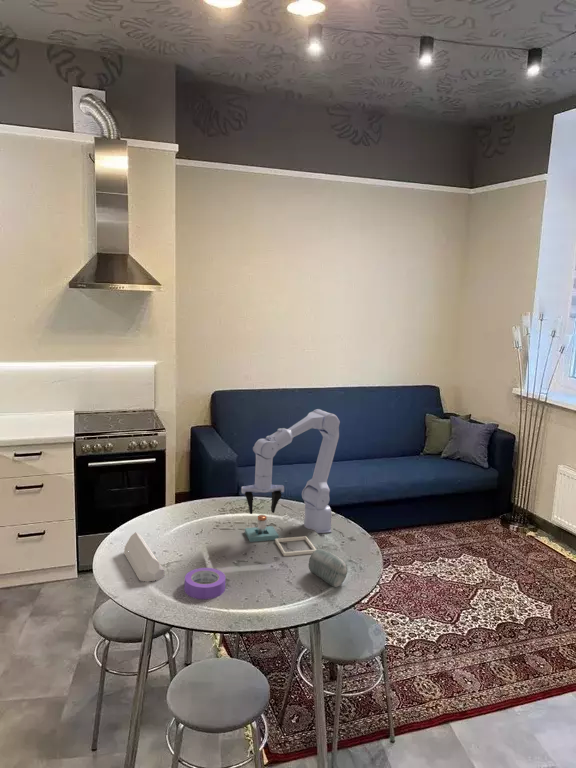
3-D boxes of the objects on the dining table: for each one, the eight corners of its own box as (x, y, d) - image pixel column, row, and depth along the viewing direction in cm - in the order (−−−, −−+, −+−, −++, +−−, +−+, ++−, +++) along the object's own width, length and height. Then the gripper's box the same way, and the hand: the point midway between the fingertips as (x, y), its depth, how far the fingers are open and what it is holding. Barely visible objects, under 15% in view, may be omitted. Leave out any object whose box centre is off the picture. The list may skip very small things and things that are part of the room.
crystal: (116, 541, 188) (135, 574, 168) (135, 528, 191) (156, 559, 170) (128, 558, 191) (148, 592, 170) (147, 544, 194) (168, 577, 173)
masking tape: (230, 582, 173) (230, 570, 173) (217, 602, 162) (217, 589, 162) (193, 576, 176) (193, 565, 175) (177, 596, 165) (178, 583, 164)
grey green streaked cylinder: (297, 562, 180) (315, 536, 179) (317, 569, 186) (335, 544, 185) (319, 593, 169) (338, 565, 168) (340, 598, 175) (359, 572, 174)
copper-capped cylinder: (264, 533, 205) (265, 514, 204) (266, 537, 202) (267, 518, 201) (256, 534, 204) (257, 515, 203) (258, 537, 201) (259, 518, 200)
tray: (306, 542, 202) (306, 536, 202) (316, 557, 192) (317, 550, 191) (274, 545, 199) (275, 538, 199) (283, 560, 189) (284, 553, 188)
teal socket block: (272, 534, 208) (272, 526, 208) (278, 543, 201) (278, 535, 200) (244, 536, 206) (245, 528, 205) (249, 545, 198) (250, 537, 198)
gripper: (244, 478, 193) (242, 517, 195) (287, 477, 197) (285, 515, 199) (241, 472, 200) (239, 509, 202) (282, 470, 203) (280, 508, 205)
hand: (261, 512), depth 201 cm, fingers open, 7 cm apart
